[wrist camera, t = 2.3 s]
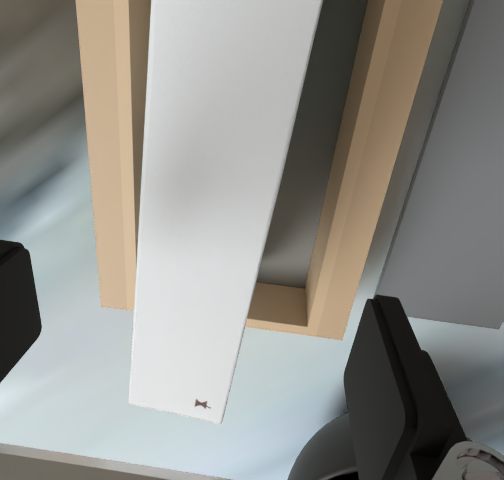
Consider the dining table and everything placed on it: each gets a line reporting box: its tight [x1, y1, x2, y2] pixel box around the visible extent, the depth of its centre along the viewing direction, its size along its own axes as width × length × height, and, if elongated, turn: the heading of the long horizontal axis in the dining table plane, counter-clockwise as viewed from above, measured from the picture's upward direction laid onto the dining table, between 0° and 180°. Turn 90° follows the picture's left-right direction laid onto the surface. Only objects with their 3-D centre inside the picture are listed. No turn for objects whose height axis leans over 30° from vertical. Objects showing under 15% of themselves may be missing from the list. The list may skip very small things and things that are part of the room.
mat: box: [373, 0, 504, 329], centre depth 28 cm, size 27×11×1 cm, turn 173°
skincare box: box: [129, 0, 323, 424], centre depth 21 cm, size 21×6×16 cm, turn 169°
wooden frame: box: [76, 0, 443, 340], centre depth 26 cm, size 27×19×5 cm
